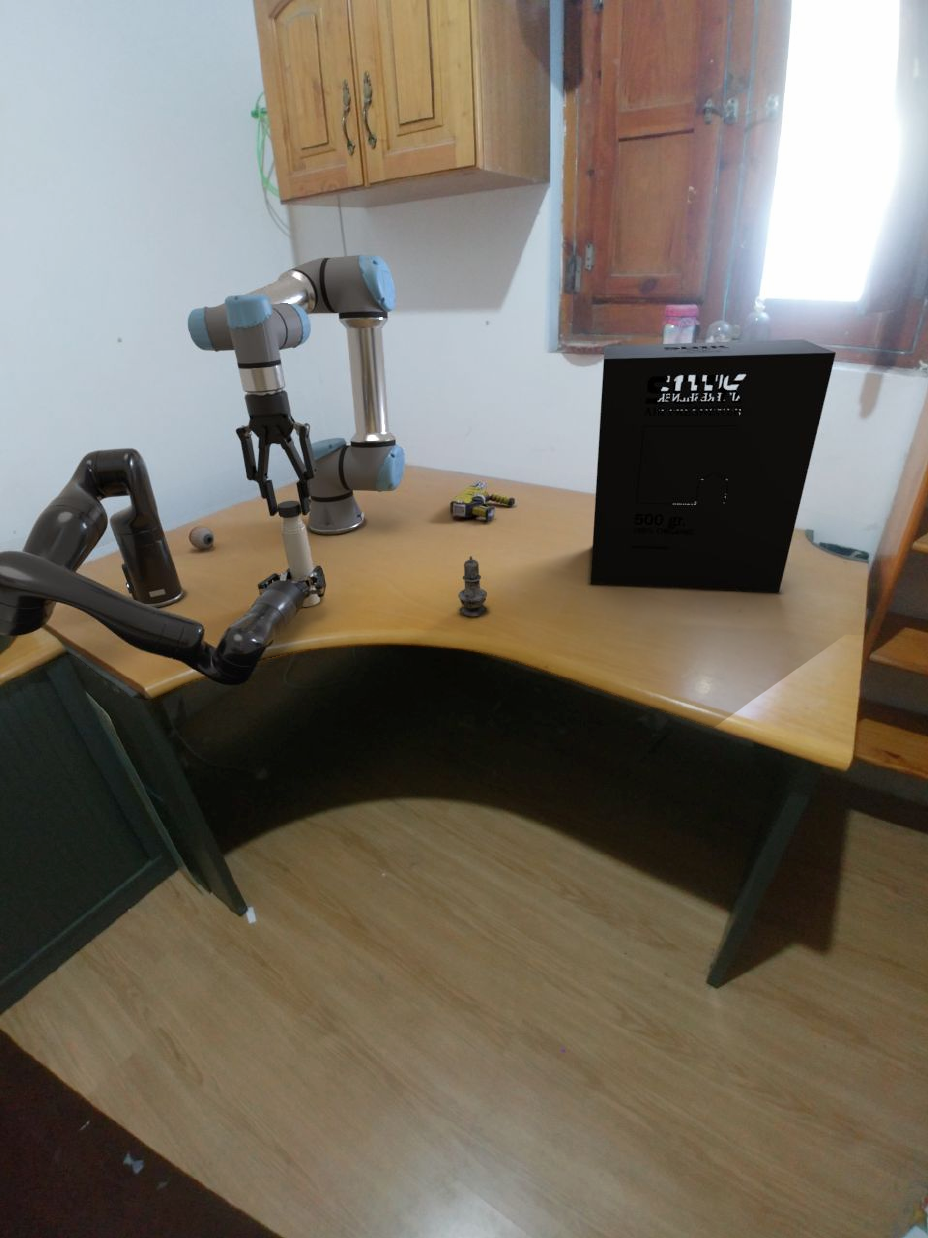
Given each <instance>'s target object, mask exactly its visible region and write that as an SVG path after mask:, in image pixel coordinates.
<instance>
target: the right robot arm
mask: <svg viewBox="0 0 928 1238" xmlns="http://www.w3.org/2000/svg"><path fill="white" fill-rule="evenodd" d="M396 300H397V299H396V288H395V283H394V279H393V276H392V273H391V270H390V268H389V266H388V264H387V262H386V261H385V260H384V259H383V258H382V257H381V256H379V255H376V254H357V255H356V254H355V255H343V256H332V257H320V258H315V259H312V260H309V261H307V262H304V263H302V264H299V265H298V266H295V267H292V268H291V269H288V270H286V271H283V272H282V273H281V274H280V275H279V277H278V278H277V280H276V281H274V282H272V283H269V284H267V285H264V286H262V287H260V288H259V287H258V288H257V289H255V290H252V291H250V292H248V293H246V294H235V295H228V296H226V298H225V299H224V303H222V304H219V305H216V306H211V307H209V306H203V307H198V308H194V309H192V310H191V312H190V313H189V314H188V318H187V329H188V332H189V335H190V338H191V340H192V342H193V344H194V345H195V346H196V347H197V348H198V349H200V350H203V351H209V352H211V351H212V352H215V353H218V352H222V351H223V352H225V351H234V354H235V358H236V364H237V370H238V374H239V378H240V384H241V388H242V391H243V392H244V393H245V395H244V400H245V406H246V410H247V414H248V418H249V421H248V424H246V425H241V426H239V427H237V428H236V429H235V433H236V436H237V438H238V439H239V442H240V445H241V452H242V458H243V462H244V469H245V475H246V479H247V480H248V481H250V482H251V481H254V482H256V483H257V484H258V488H259V492H260V496H261V498H262V499H263V500H266V503H267V508H268V514H269V517H275V516H276V514H278V513H279V512H278V506H277V505H278V502H277V498H276V494H275V489H274V484H273V480H272V479H269V476H268V472H269V462H270V451H271V445H273V444H275V445H280V447H281V449H282V450H283V451H284V452H285V454H286V456H287V458H288V460H289V462H290V464H291V466H292V468H293V470H294V473H295V474H296V476H297V478H298V480H297V482H295V484H296V489H297V494H298V501H299V503H300V506H301V511H302V513H301V516H307V515H308V528H309V529H308V530H310V531H311V532H312V533H314V534H317V535H323V536H324V535H325V536H327V535H329V536H331V535H339V534H340V535H341V534H345V533H350V532H353V531H355V530H357V529H359V528H361V527H362V526H363V525H364V523H365V519H364V518H365V513H364V512H363V511H362V510H361V508H360V505H359V504H358V501H357V500H356V498H355V495H354V491H362V492H365V491H366V492H378V493H382V492H393V491H395V490H396V489H398V487H400V485H401V482H402V481H403V480H402V479H403V477H404V472H405V466H406V454H405V451H404V448H403V447H402V446H400V445H398V444H397V440H396V436H395V435H393V433H392V432H391V431H390V423H389V408H388V395H387V394H388V393H387V380H386V363H385V349H384V333H383V328H384V326H385V325H386V324H387V322H389V315H388V313H389V312H392V311H393V310H394V308H395V306H396ZM312 314H338V322H339V323H340V324H342V326H343V327H344V328H345V329H346V339H347V350H348V352H347V353H348V362H349V373H350V384H351V397H352V409H353V421H354V430H355V431H354V434H353V435H352V436H351V437H350V441H349V442H350V444H347V441H346V439H345V438H343V437H333V438H327V439H326V438H325V439H322V440H318V441H315V442H313V443H312V442H311V438H310V430H311V425H310V424H309V423H308V422H305V423H300V422H296V421H295V418H294V417H293V416H292V411H291V405H290V400H289V395H288V392H287V391H286V390H285V388H286V386H287V385H286V379H285V375H284V369H283V368H284V367H283V363H282V359H281V358H282V357H281V353H280V351H282V350H286V349H287V350H288V349H295V348H297V347H299V346H301V345H303V344H305V343H306V342H307V341H308V340H309V338H310V335H311V330H312V328H311V325H312V324H311V319H310V317H309V316H308V315H312ZM294 430H295V432H296V433H295V434H296V435H297V436H298V441H299V446H300V449H301V453H302V457H303V458H301V455H300V454H299V452H298V450H297V448H296V445H295V441H294V439H293V437H292V433H293V431H294ZM253 434H254V435H255V436H256V437H257V438H258V443H257V444H258V445H257V449H258V455H257V456H258V458H257V462H256V456H255V450H254V443H253V438H252V436H253Z"/></svg>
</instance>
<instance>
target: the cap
mask: <svg viewBox="0 0 928 1238" xmlns="http://www.w3.org/2000/svg"><path fill="white" fill-rule="evenodd" d="M277 507H278V512H277V513H278V516H279V517H280V518H282V519H283V518H292V517H296V516H298V515H299V516H300V515H302V510H301V505H300V501H299V500H286V501H282V502H279V503H277Z"/></svg>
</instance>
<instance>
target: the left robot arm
mask: <svg viewBox="0 0 928 1238" xmlns="http://www.w3.org/2000/svg"><path fill="white" fill-rule="evenodd" d="M150 478H151V477H150V475H149V471H148V467H147V464H146V462H145V460H144V457H143V456H142V454H141V453H140V452H139V451H138V450H137V449H135V448H133V447H121V448H108V449H97V450H93V451H90V452H88V453H87V454H85V455H84V456H83V457H82V459H80V462H79V463H78V465H77V467H76V469H75V471H74V472H73V474H72V476H71V477H70V479H69V481H68V482H67V483H66V484H65V486H64V487H63V488H62V490H60V492H59V493H58V495H57V496H56V497H55V498H54V499H53V500H51V502H50V503H49V504H48V505H47V506H46V507H45V508H44V509H43V511H41V513H40V514H39V516H38V517H37V519H36V520H35V522H34V524H33V525H32V528H31V530H30V532H29V534H28V537H27V539H26V540H25V543H24V545H23V548H22V551H21V550H4V551H0V635H2V636H7V637H19V636H25V635H29V634H32V633H34V632H36V631H38V630H40V629H41V628H43V627H44V626H45V625H46V624H48V622H49V621H50V620H51V618H52V616H53V614H54V612H55V611H54V610H55V608H56V605H57V603H59V604H63V605H66V606H69V607H72V608H74V609H76V610H79V611H81V612H83V613H85V614H87V615H88V616H90V617H91V618H93V619H94V620H96V621H98V622H99V623H100V624H101V625H103V626H104V627H105V628H106V629H108V630H109V631H110V632H111V633H112V634H114V635H116V637H118V638H119V639H120V640H122V641H123V642H125V643H126V644H128V645H129V646H131V647H133V648H135V649H137V650H140V651H142V652H145V653H148V654H152V655H155V656H159V657H163V658H166V659H169V660H173V661H177V662H180V663H182V664H184V665H186V666H187V667H189V668H190V669H192V670H194V671H195V672H198V673H199V674H201V675H203V676H205V677H206V678H208V679H210V680H211V681H214V682H216V683H219V684H220V685H225V686H239V685H242V684H244V683H246V682H247V681H249V679H250V678H251V677H252V675H253V673H254V671H255V670H256V667H257V666H258V664H259V661H260V660H261V658H262V656H263V654H264V653H265V651H266V649H268V647H271V646H272V645H273V644H274V642H276V640H277V639H278V637H279V636H280V635H281V633H282V632H283V631H284V630H285V629H286V628H288V627H289V625H290V624H291V623H292V621H293V620H294V618H296V616H297V614H298V613H299V612H300V611H301V609H302V608H303V607H302V605H303V602H304V600H305V599H306V598H308V597H309V596H310V595H311V594H318V597H320V598H323V597H324V596H325V593H326V588H327V582H326V577H325V576H326V575H325V574H324V570H323V567H322V566H321V565H316V566H315V567H314V570H313V571H312V573H311V574H309V575H308V576H307V575H304V576H302V577H301V578H299V579H297V580H292V579H291V574H290V570H289V567H288V568H287V569H286V570H285V571H284V572H281V573H280V574H278V573H277V572H275V573H271V574H270V575H269V576H268V577H266V578H264V579H263V580H261V581H260V582H259V583H258V584H257V588H258V592H259V596H258V597H257V598H256V599H255V600H254V602H253V603H252V605H251V606H250V608H249V609H248V610H247V611H246V612H245V614H243V616H242V617H241V618H239V619H238V620H236V621H234V622H233V623H231V624H230V625H229V626H228V627H227V629H226V630H225V631H224V632H223V634H222V635H221V637H220V639H219V641H218V644H217V646H213V645H212V644H211V643H209V642H207V641H206V640H205V634H206V633H205V626H204V624H202V623H201V622H200V621H197V620H195V619H192V618H189V617H186V616H182V615H180V614H176V613H174V612H170V611H167V610H164V609H161V608H163V607H166V606H170V605H172V604H174V603H176V602H178V601H179V600H181V599H182V598H183V597H184V594H185V591H184V588H183V586H182V584H181V581H180V578H179V574H178V571H177V568H176V566H175V565H176V564H175V562H174V560H173V556H172V553H171V550H170V546H169V544H168V541H167V537H166V534H165V532H164V528H163V525H162V522H161V519H160V516H159V509H158V505H157V501H156V498H155V494H154V491H153V487H152V483H151V479H150ZM115 497H116V498H117V497H129V499H130V505H129V506H127V507H125V508H122V509H121V510H119V511H116V512H115V513H113V514H112V515H111V516H110V517H108V513H107V510H106V508H105V507H104V505H103V503H102V502H101V501H102V500H104V499H109V498H115ZM108 518H109V519H108ZM108 524H109V525H110V528H111V531H112V532H113V536H114V539H115V541H116V544H117V546H118V549H119V553H120V556H121V558H122V559H123V560H122V561H123V563H122V564H121V566H120V567H121V569H122V572H123V575H124V578H125V580H126V583H125V585H126V589H127V591H128V593H129V594H130V595H131V597H132V598H131V597H129V596H127V595H125V594H122V593H120V592H118V591H116V590H114V589H112V588H110V587H108V586H106V585H104V584H102V583H100V582H98V581H96V580H94V579H91V578H89V577H87V576H86V575H83V574H81V573H79V572H77V571H78V570H79V569H80V568H81V566H82V565H83V564H84V562H85V561H86V559H88V557H89V556H90V554H91V553H92V552H93V550H94V549H95V548H96V546H97V545H98V544H99V542H100V540H101V539H102V538H103V536H104V535H105V533H106V530H107V529H108ZM311 579H312V582H311Z"/></svg>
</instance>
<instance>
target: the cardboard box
mask: <svg viewBox="0 0 928 1238" xmlns="http://www.w3.org/2000/svg"><path fill="white" fill-rule="evenodd" d="M603 351H604V352H603V365H602V367H603V368H602V384H601V385H602V386H601V399H600V413H599V415H600V417H599V418H600V419H599V433H598V448H597V449H598V450H597V466H596V483H595V498H594V499H595V500H594V514H593V515H594V517H593V531H592V532H593V533H592V534H593V535H592V548H591V566H590V567H591V568H590V585H603V586H605V585H606V586H624V587H625V586H626V587H627V586H628V587H645V588H646V587H649V588H667V589H668V588H669V589H670V588H671V589H688V590H689V589H692V590H713V591H731V592H733V591H734V592H735V591H736V592H755V593H756V592H757V593H776V594H777V593H778V594H779V593H780V589H781V586H782V581H783V577H784V574H785V573H784V572H785V569H786V565H787V560H788V558H789V557H788V556H789V552H790V547H791V545H792V544H791V543H792V540H793V535H794V531H795V526H796V522H797V519H798V515H799V510H800V505H801V502H802V498H803V494H804V490H805V484H806V481H807V476H808V472H809V468H810V463H811V459H812V455H813V452H814V448H815V441H816V439H817V434H818V430H819V425H820V420H821V417H822V413H823V409H824V406H825V405H824V404H825V401H826V396H827V392H828V388H829V383H830V380H831V375H832V371H833V367H834V363H835V358H836V354H837V353H836V352H835V351H833V350H830V349H828V348H826V347H823V346H821V345H818V344H815V343H813V342H811V341H808V340H806V339H804V338H803V339H774V340H745V341H744V340H742V341H718V342H717V341H714V342H713V341H711V342H708V341H707V342H684V343H683V342H682V343H681V342H680V343H679V342H678V343H649V344H647V343H646V344H619V345H617V344H616V345H604V349H603ZM740 375H742V376H743V375H745V376H744V377H743V378H742V379H737V378H738V376H740ZM680 376H682V380H681V382H680V388H679V390H676V386H677V380H676V379H677V377H680ZM690 376H694V383H693V382H692V381H693V380H689V379H690ZM704 376H706V380H703V378H704ZM721 378H722V379H721ZM726 378H727V382H726V386H727V387H731V386H737V387H736V388H735V389H726V388H725V381H726ZM720 384H721V385H720ZM693 386H696V389H692V387H693ZM706 386H711V389H709V390H708V389H705V388H706ZM663 388H667V390H663Z"/></svg>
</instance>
